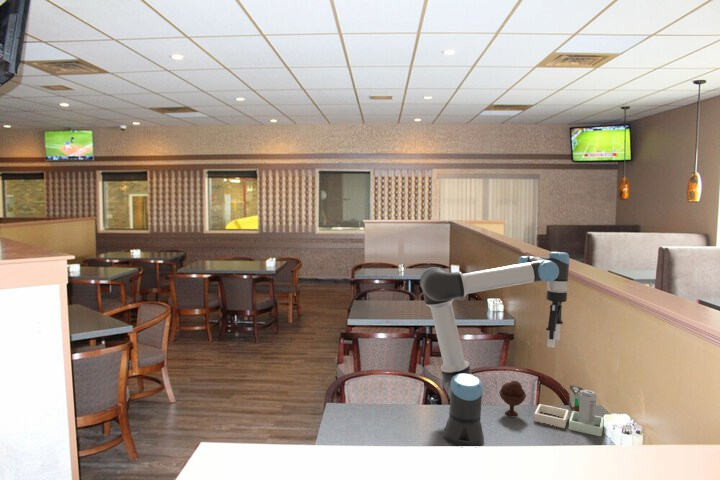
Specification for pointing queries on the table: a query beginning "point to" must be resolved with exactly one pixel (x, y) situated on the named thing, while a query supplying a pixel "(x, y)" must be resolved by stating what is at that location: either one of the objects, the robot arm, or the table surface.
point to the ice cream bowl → (512, 396)
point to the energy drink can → (587, 407)
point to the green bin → (586, 425)
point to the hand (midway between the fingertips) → (553, 343)
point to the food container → (575, 397)
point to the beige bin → (549, 419)
